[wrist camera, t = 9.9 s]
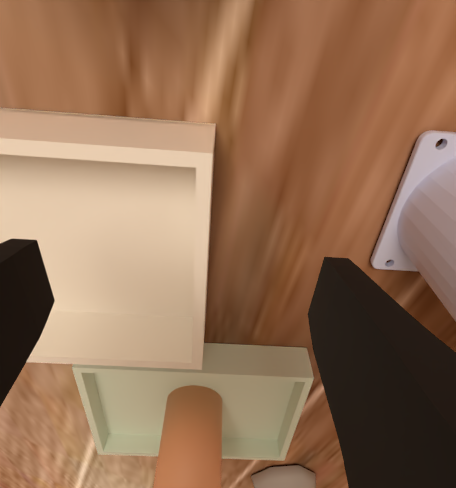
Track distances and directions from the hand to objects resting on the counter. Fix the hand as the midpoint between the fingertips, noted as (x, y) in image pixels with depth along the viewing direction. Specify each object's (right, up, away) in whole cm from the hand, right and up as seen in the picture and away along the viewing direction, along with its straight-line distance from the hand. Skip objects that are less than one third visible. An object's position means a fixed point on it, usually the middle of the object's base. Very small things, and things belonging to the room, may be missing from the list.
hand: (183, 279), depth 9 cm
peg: (-1, -12, +18) cm, 22 cm away
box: (-6, +2, +10) cm, 12 cm away
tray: (-1, -11, +19) cm, 22 cm away
